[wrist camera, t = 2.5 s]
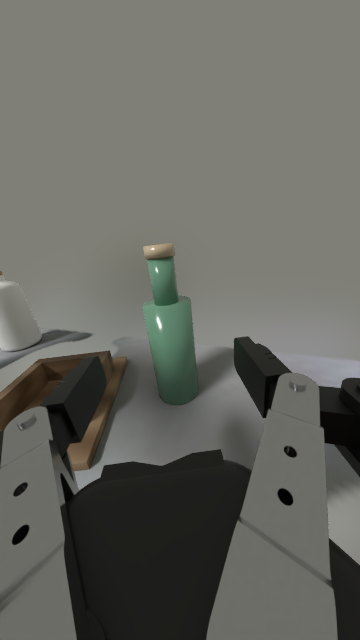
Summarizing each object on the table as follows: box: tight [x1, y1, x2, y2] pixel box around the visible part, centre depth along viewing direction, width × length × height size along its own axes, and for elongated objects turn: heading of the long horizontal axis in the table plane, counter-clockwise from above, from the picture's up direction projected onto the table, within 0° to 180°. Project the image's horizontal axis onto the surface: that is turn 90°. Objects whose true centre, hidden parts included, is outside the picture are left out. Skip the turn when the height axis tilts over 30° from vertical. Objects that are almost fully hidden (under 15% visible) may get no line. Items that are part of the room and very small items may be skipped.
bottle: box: [143, 243, 198, 405], centre depth 23 cm, size 6×6×19 cm
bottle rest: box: [0, 351, 128, 471], centre depth 25 cm, size 18×14×4 cm
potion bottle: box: [0, 271, 42, 351], centre depth 43 cm, size 8×8×18 cm
